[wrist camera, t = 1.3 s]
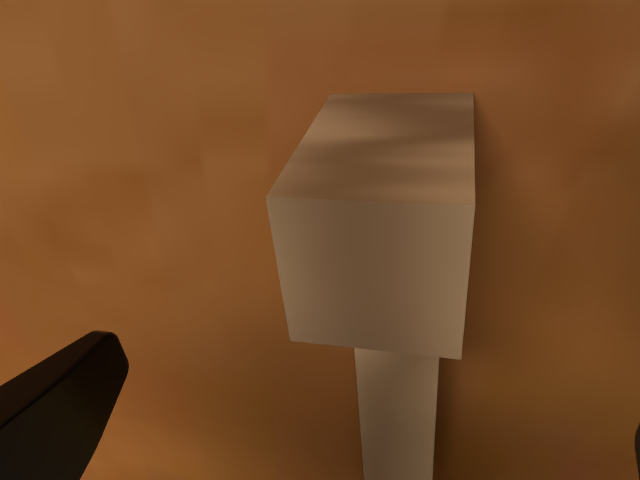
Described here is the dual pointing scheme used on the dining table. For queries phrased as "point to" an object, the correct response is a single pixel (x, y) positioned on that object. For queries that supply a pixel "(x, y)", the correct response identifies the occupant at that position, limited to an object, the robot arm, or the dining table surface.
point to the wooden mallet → (382, 256)
